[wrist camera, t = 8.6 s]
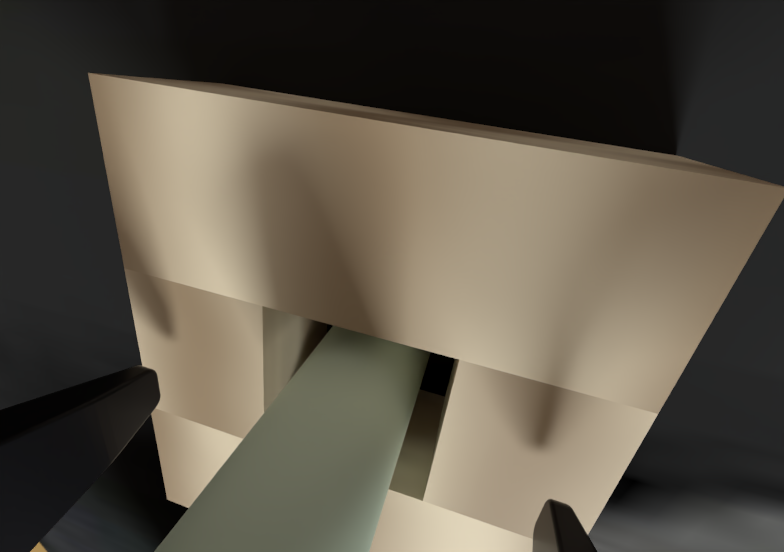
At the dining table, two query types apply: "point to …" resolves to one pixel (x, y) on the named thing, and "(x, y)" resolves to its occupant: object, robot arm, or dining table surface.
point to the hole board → (417, 287)
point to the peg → (313, 456)
